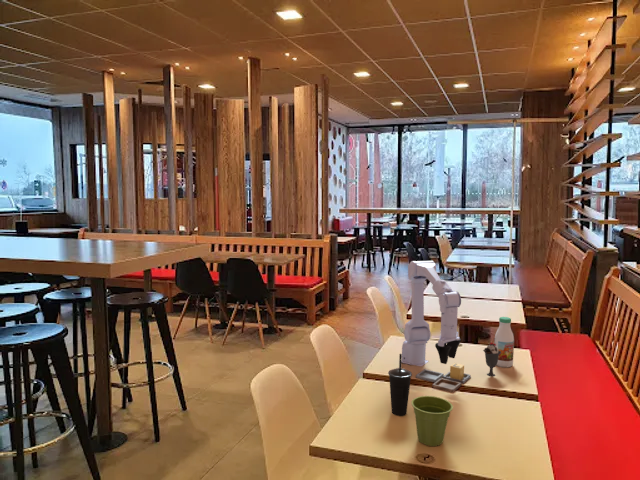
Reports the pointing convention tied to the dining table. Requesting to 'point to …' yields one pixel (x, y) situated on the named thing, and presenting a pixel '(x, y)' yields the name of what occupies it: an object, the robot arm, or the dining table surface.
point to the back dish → (466, 377)
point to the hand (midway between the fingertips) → (447, 360)
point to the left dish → (429, 375)
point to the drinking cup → (399, 389)
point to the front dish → (446, 385)
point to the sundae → (491, 357)
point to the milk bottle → (505, 342)
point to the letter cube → (457, 371)
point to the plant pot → (431, 418)
